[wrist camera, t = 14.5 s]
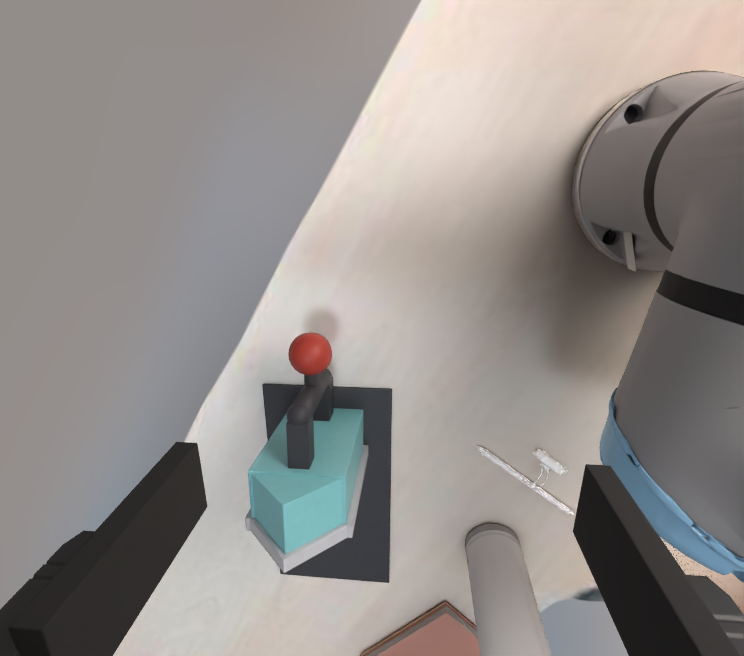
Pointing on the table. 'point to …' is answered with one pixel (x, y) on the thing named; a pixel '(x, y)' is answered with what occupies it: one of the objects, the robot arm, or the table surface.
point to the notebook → (432, 636)
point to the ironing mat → (372, 525)
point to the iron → (308, 467)
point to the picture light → (547, 463)
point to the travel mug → (503, 595)
